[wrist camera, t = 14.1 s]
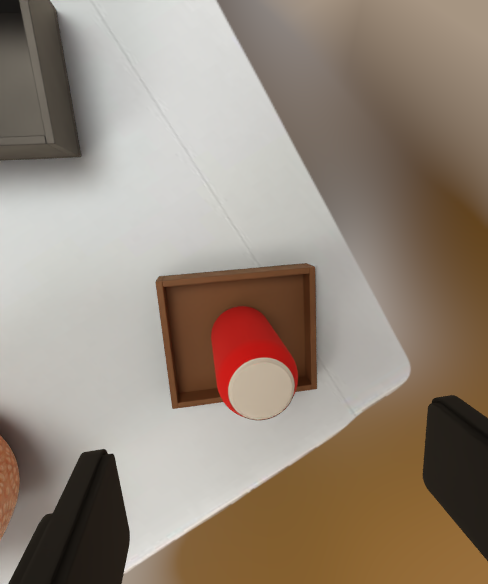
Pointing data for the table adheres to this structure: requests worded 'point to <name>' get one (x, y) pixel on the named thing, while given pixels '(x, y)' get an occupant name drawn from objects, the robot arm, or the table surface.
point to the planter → (7, 484)
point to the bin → (34, 84)
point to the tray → (220, 297)
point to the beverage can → (252, 364)
